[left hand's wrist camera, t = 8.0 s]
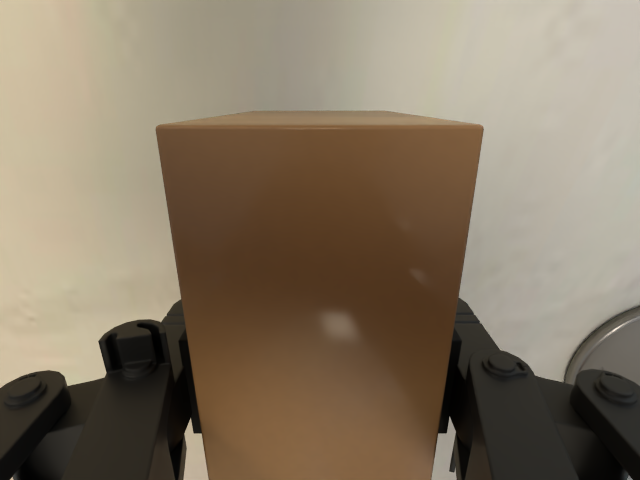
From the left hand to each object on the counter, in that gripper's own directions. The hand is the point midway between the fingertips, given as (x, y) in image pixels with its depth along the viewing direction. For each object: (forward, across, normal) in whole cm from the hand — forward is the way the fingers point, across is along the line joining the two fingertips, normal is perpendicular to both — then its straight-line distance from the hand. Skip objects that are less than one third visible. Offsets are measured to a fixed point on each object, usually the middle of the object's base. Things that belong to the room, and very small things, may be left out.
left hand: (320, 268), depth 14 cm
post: (0, 0, -23) cm, 23 cm away
